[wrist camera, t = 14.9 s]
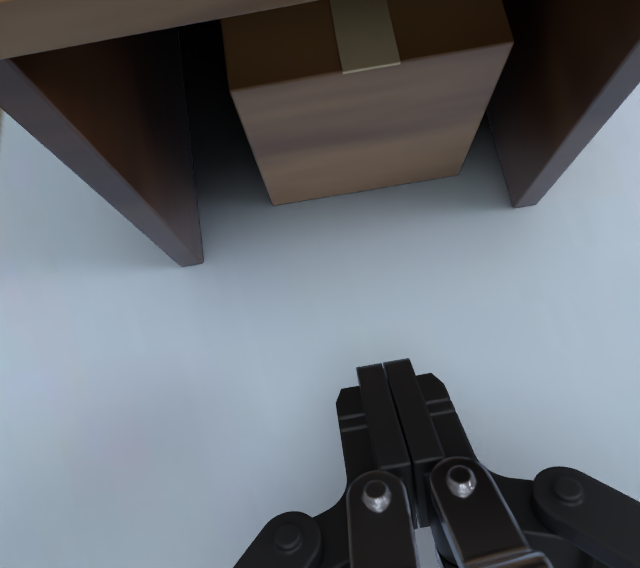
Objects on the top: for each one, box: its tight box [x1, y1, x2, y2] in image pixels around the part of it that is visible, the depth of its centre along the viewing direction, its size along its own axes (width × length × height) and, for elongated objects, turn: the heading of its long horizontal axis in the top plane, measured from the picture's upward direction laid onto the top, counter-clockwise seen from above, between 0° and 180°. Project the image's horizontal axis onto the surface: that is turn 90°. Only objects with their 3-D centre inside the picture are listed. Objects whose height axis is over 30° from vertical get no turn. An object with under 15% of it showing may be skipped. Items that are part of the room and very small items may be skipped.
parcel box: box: [220, 0, 514, 206], centre depth 19 cm, size 9×8×8 cm
